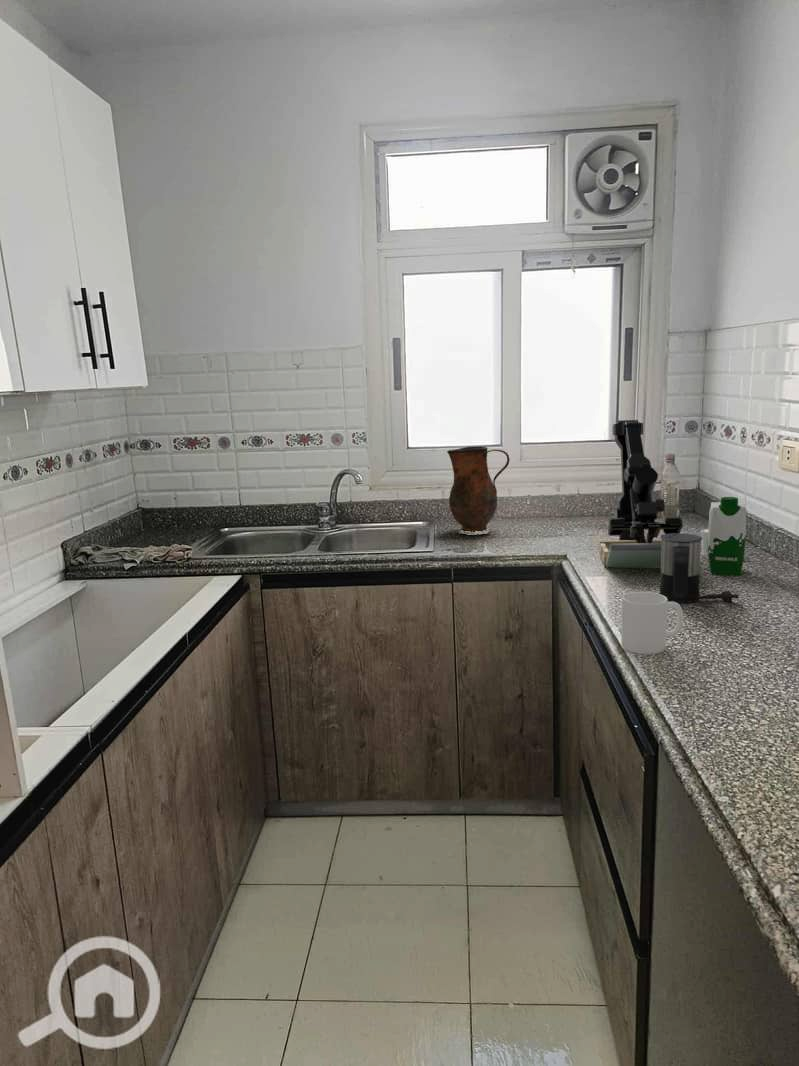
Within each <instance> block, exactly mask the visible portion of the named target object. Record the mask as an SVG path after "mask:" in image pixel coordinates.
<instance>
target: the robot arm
mask: <svg viewBox="0 0 799 1066" xmlns="http://www.w3.org/2000/svg"><path fill="white" fill-rule="evenodd" d="M612 435H613V436H614V441H615V443H616V445H617V446H618V448H619V449H620V460H621V461H620V464H621V466H620V467H621V486H622V487H621V488H622V489H621V494H622V495H621V497H620V498H619V500H618V503H617V507H616V508H615V512H614V516H613V517H611V518H610V519H609V521H608V525H607V535H609V536H612V537H615V536H616V537H618V540H636V541H637V543H652V541H653V540H654V538H658V537H659V534H660V532H661V530H663V531H662V532H663V533H664V534H671V533H679V534H681V530H682V528H683V525H684V524H683V523H684V522H683V519H682V518H681V517H680V516H666V517H665V519H664V521H656V520H657V519H658V513H664V512H665V510H666V509H665V506H666V504H665V499H656V500H655V501H653V492H654V491H655V488H656V485H657V481H658V479H659V478H658V476H659V473H658V472H657V471H656V469H654V467H652V465H651V460H650V459H649V458H648V457H646V456H645V452H644V446H643V440H642V435H644V422H640V421H639V420H638V419H629V420H628V419H624V420H622V419H621V420H617V421H616V423H613V425H612ZM645 530H647V532H646V534H645Z"/></svg>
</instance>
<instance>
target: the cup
mask: <svg viewBox="0 0 799 1066" xmlns="http://www.w3.org/2000/svg"><path fill="white" fill-rule="evenodd" d="M669 609H674V610H675V611H676V619H677V620H676V625H675V627H674V628H673V629H672V630H667V628H668V626H667V625H668V610H669ZM683 613H684V612H683V609H682V606H681V605H680V604H679V602H672V601H668V599H667V597H665V596H663V595H661V594H659V593H657V592H652V591H651V592H650V591H632V592H628V593H625V594H623V595H622V596H621V639H620V641H621V646H622V647H623V649H624V650H625V651H627V652H628V653H631V654H632V653H633V654H636V655H645V656H646V655H647V656H650V655H657V654H661V653H663V652H664V651H665V649H666V647H667V639H668V638H669V639H670V638H672V637H675V636H677V635H678V634H679V633H680V631H681V630H682V628H683V624H684V614H683Z"/></svg>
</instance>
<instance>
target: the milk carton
mask: <svg viewBox="0 0 799 1066" xmlns="http://www.w3.org/2000/svg"><path fill="white" fill-rule="evenodd" d="M708 518H709V519H708V528H707V529H708V556H707V557H708V559H707V560H708V564H709V565H708V566H709V570H710V573H711V575H719V574H720V575H721V576H722V575H723V576H726V575H727V576H742V575H741V574H742V570H743V565H744V564H743V563H744V560H745V550H746V549H745V548H746V534H747V533H746V532H747V531H746V529H747V507H746V505H745V504H744V503H743V502H739V498H738V497H737V496H736V497H734V496H723V497H721V498H720V502H718V501H716V502H714V501H713V502H711V503H710V508H709V514H708Z"/></svg>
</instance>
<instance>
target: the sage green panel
mask: <svg viewBox="0 0 799 1066" xmlns="http://www.w3.org/2000/svg"><path fill="white" fill-rule="evenodd" d="M661 550H662V543H633V544H610V549H609V553H608V556H607V560H606V567H633V566H661Z"/></svg>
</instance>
